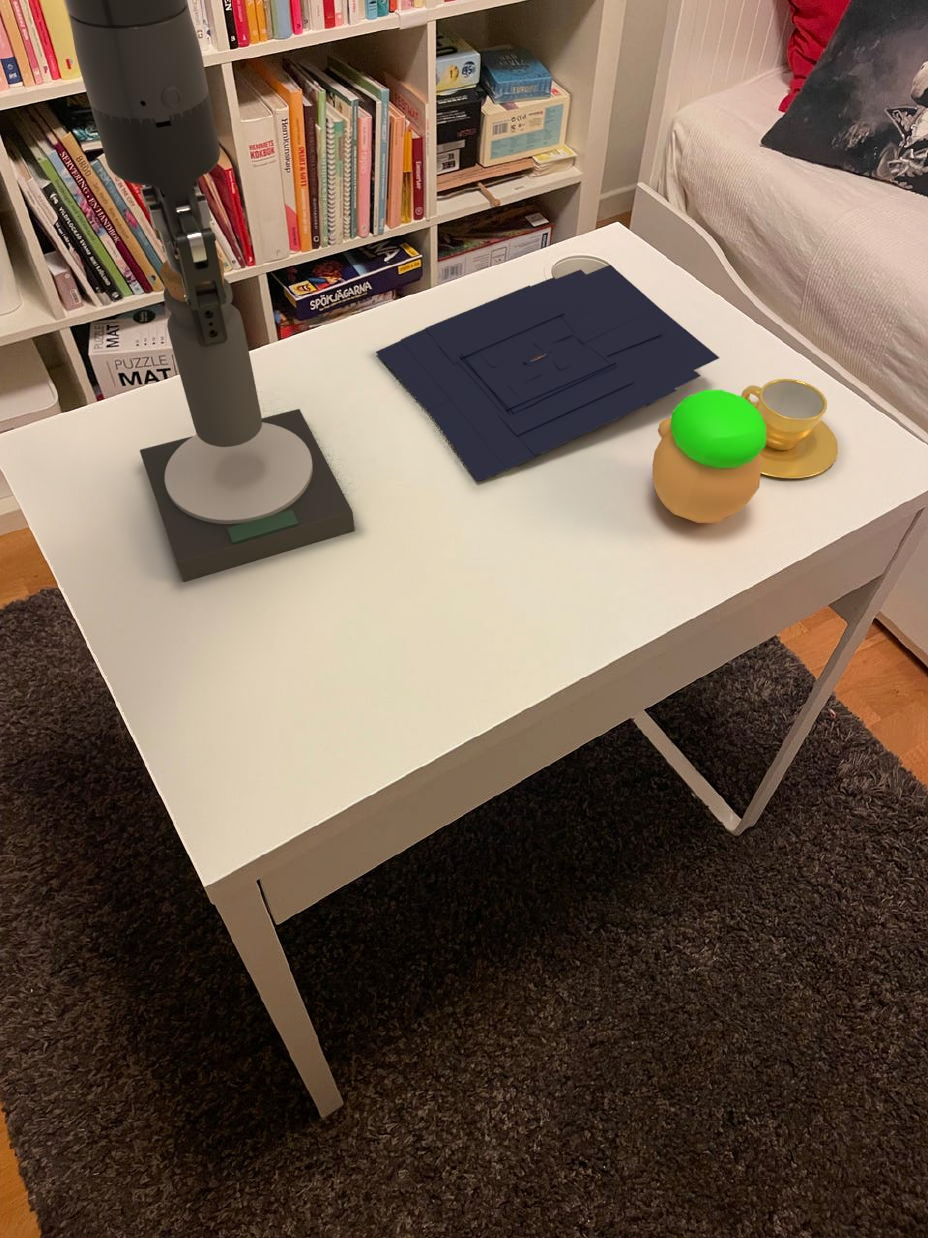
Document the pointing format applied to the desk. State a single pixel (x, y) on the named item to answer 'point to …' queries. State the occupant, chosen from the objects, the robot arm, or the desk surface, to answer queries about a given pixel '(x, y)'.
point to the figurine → (709, 456)
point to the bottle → (213, 369)
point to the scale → (245, 496)
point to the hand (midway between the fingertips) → (203, 320)
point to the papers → (544, 366)
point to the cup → (793, 429)
